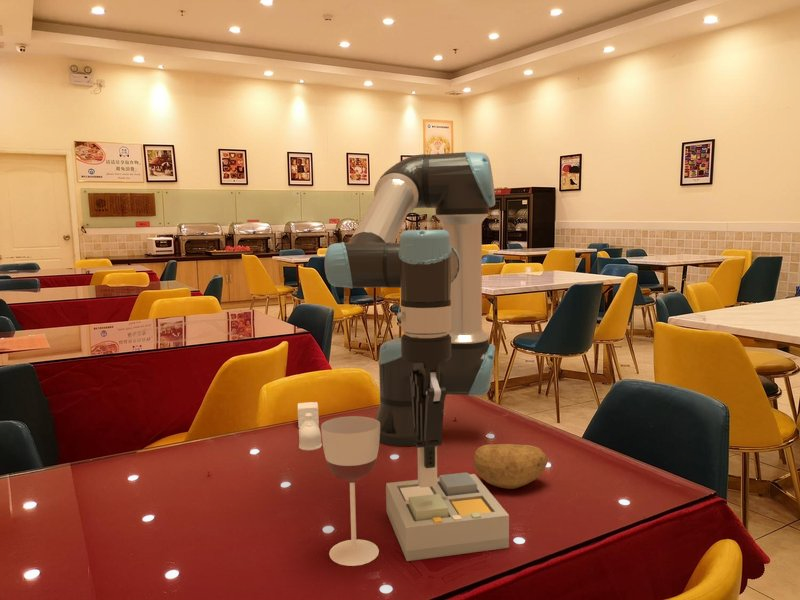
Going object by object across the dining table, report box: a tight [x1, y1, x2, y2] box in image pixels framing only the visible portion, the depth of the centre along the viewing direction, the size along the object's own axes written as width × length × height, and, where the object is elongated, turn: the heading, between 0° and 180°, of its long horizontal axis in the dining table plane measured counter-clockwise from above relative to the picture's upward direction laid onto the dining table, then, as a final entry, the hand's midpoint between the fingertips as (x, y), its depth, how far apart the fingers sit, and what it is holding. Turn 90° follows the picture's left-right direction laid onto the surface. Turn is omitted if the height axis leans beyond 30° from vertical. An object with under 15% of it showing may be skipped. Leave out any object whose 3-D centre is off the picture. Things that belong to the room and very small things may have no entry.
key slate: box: [438, 471, 477, 496], centre depth 101 cm, size 5×5×3 cm
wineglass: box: [320, 415, 380, 567], centre depth 90 cm, size 8×9×20 cm
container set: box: [297, 401, 323, 451], centre depth 143 cm, size 20×5×6 cm, turn 10°
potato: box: [473, 443, 549, 490], centre depth 114 cm, size 10×14×8 cm
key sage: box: [409, 494, 448, 521], centre depth 93 cm, size 5×5×3 cm
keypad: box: [385, 473, 510, 562], centre depth 98 cm, size 16×16×6 cm
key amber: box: [451, 498, 491, 516], centre depth 95 cm, size 5×5×3 cm
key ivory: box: [400, 486, 433, 501], centre depth 100 cm, size 5×5×3 cm
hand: (427, 484), depth 93 cm, fingers closed
